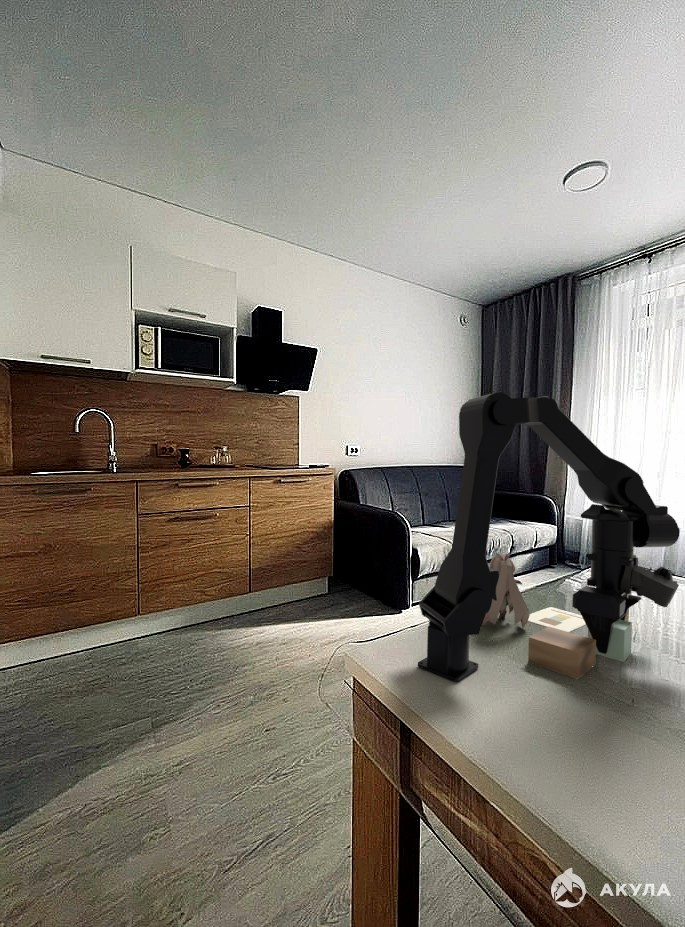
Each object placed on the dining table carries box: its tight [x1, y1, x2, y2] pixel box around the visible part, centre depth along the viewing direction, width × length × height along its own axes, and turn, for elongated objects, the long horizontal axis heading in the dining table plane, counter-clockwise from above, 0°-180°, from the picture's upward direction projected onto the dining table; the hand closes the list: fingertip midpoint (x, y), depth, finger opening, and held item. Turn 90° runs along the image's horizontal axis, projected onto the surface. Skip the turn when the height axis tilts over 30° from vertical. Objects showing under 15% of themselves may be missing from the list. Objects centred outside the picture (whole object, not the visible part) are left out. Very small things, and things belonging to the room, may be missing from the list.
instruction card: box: [527, 606, 587, 633], centre depth 86 cm, size 12×9×1 cm
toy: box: [481, 552, 530, 629], centre depth 82 cm, size 9×8×15 cm
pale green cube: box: [587, 620, 633, 663], centre depth 71 cm, size 5×5×5 cm
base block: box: [527, 626, 597, 680], centre depth 67 cm, size 7×7×4 cm
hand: (609, 645), depth 71 cm, fingers open, 8 cm apart
